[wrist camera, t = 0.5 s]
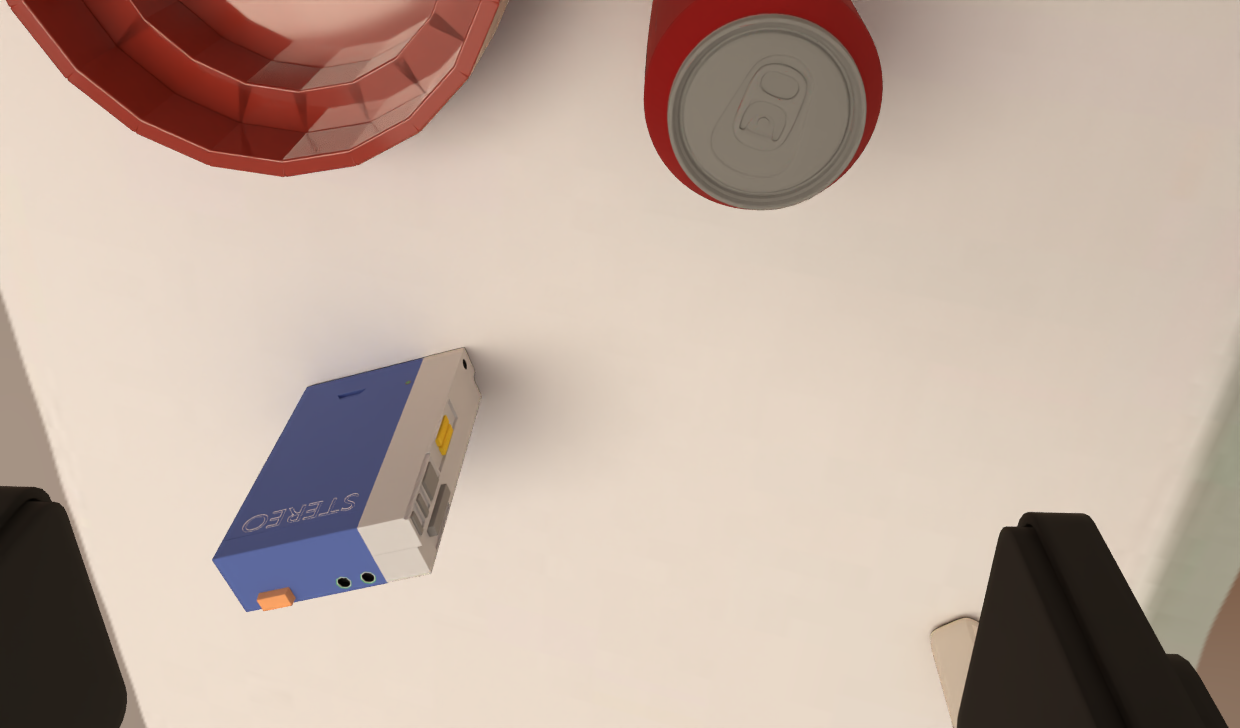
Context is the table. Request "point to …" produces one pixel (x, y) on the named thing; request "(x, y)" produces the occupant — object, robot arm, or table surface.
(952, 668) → the eye dropper bottle
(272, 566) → the walkman
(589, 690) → the table surface
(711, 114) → the beverage can
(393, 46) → the bowl
